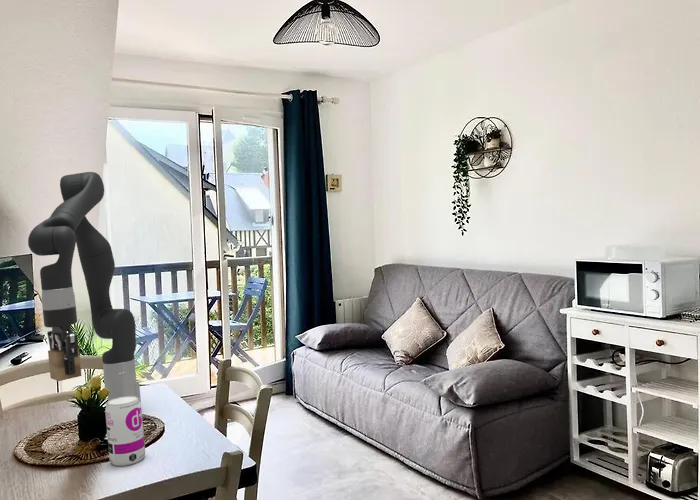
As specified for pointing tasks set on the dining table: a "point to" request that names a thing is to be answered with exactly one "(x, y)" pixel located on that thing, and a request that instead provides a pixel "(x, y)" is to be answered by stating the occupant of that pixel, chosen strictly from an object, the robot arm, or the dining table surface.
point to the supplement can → (125, 430)
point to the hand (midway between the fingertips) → (65, 372)
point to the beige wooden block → (61, 365)
